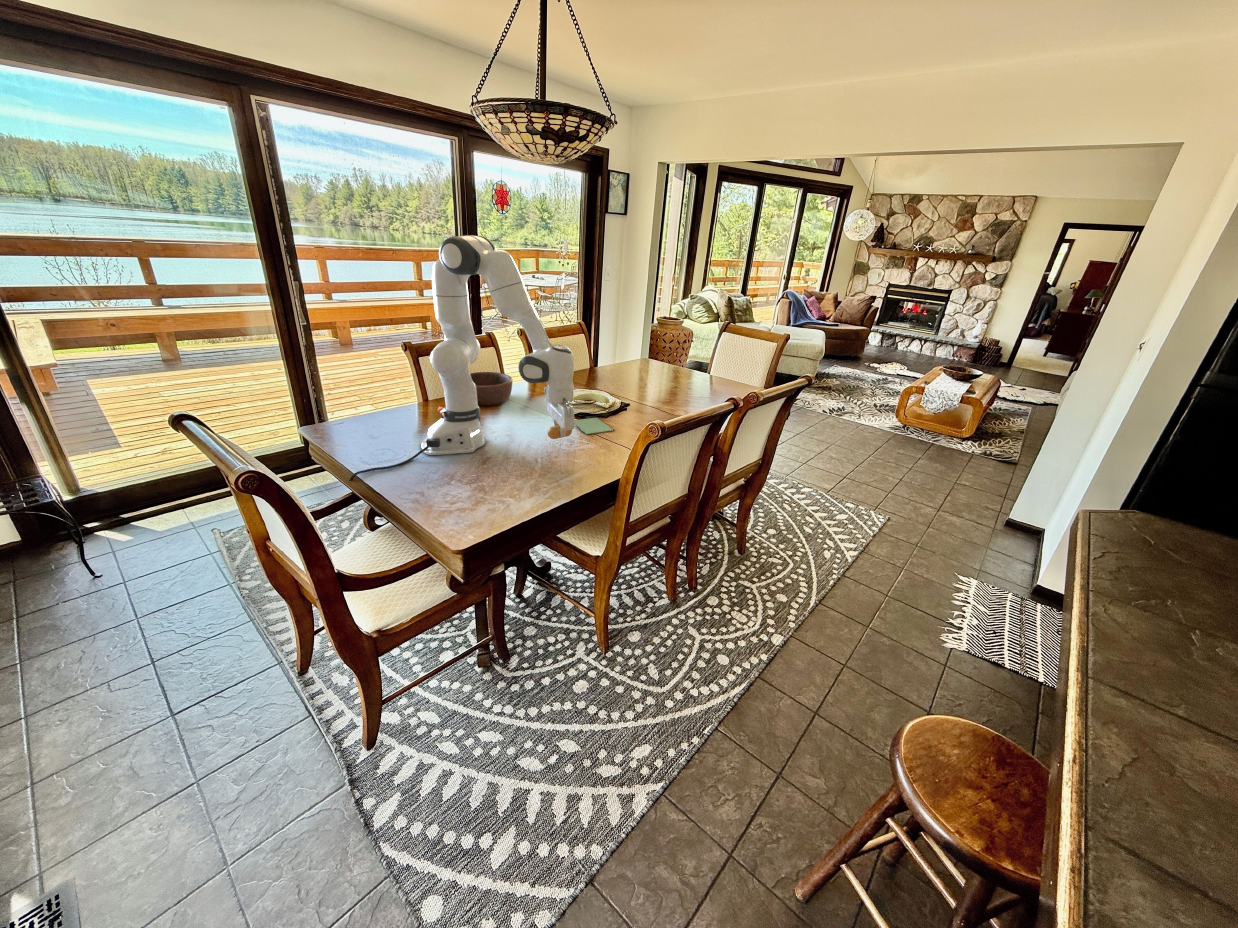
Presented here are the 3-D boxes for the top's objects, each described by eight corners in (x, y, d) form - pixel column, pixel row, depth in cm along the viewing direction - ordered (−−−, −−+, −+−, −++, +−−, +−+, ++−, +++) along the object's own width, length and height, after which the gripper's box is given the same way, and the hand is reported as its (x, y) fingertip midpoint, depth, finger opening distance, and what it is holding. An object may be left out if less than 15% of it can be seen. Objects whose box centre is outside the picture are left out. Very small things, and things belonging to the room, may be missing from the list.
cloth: (586, 434, 193) (586, 433, 193) (571, 421, 206) (571, 420, 205) (613, 430, 198) (613, 430, 198) (597, 418, 211) (597, 417, 211)
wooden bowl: (463, 391, 235) (461, 371, 231) (515, 392, 238) (514, 372, 234) (453, 408, 213) (451, 386, 209) (510, 409, 216) (509, 387, 211)
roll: (551, 442, 163) (551, 429, 161) (545, 437, 166) (545, 425, 164) (574, 437, 168) (574, 425, 166) (568, 432, 171) (568, 421, 170)
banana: (588, 385, 230) (617, 400, 218) (590, 394, 234) (617, 410, 222) (566, 396, 223) (594, 413, 212) (568, 406, 227) (595, 423, 215)
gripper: (579, 403, 153) (578, 443, 159) (559, 385, 170) (559, 422, 176) (561, 405, 151) (560, 445, 157) (542, 386, 168) (542, 423, 173)
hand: (559, 432), depth 167 cm, fingers closed on roll, 5 cm apart
